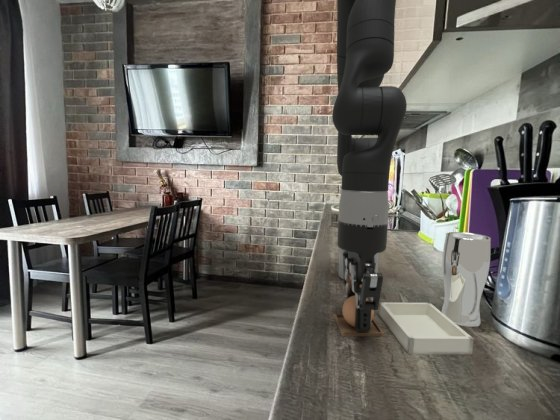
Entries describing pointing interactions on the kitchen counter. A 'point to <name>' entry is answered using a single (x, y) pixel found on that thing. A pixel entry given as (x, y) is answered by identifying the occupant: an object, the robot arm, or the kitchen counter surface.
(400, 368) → the kitchen counter surface
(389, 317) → the tray
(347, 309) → the egg
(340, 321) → the holder
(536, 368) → the kitchen counter surface
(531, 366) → the kitchen counter surface
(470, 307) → the beer glass
